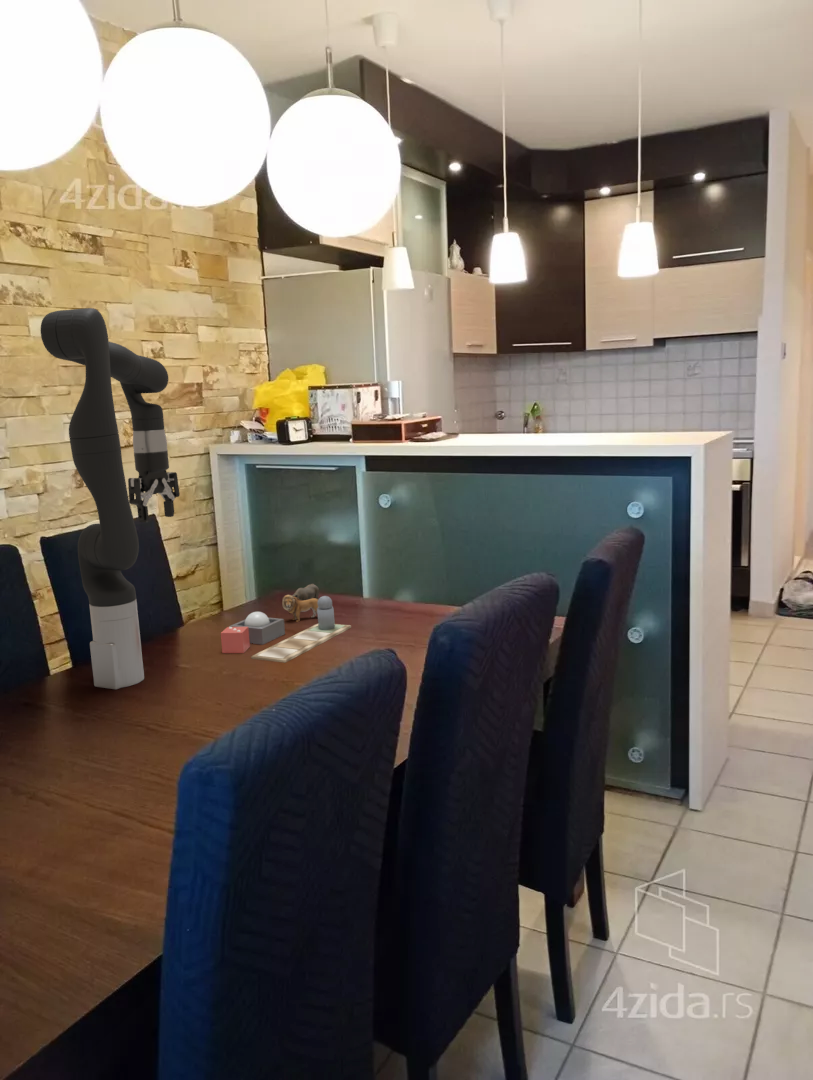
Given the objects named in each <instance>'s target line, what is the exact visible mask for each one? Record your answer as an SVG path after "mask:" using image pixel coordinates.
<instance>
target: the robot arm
mask: <svg viewBox="0 0 813 1080" xmlns="http://www.w3.org/2000/svg"><path fill="white" fill-rule="evenodd" d="M40 338H41V341H42V344H43V346H44V347H45V350H46V351H47V352H48V353H49V354H50V355H51V356H53V357H54V358H56V359H60V360H64V361H68V362H73V363H76V364H80V365H82V366H85V380H84V386H83V390H82V393H81V395H80V398H79V400H78V402H77V404H76V406H75V409H74V411H73V413H72V415H71V418H70V421H69V425H68V437H69V442H70V450H71V455H72V460H73V464H74V466H75V469H76V471H77V473H78V475H79V476H80V477H81V480H82V481H83V483H84V484H85V486H86V488H87V490H88V491H89V492H90V495H91V496H92V498H93V501H94V503H95V506H96V510H97V515H98V520H99V523H93V524H92V523H91V524H89V525H87V526H86V527H85V528H84V529H83V530H82V532H81V533H80V535H79V538H78V542H77V557H78V564H79V571H80V575H81V582H82V587H83V590H84V592H85V594H86V595H87V597H88V605H89V613H90V624H91V631H92V632H91V633H92V641H90V642H89V649H90V656H91V657H90V659H91V668H92V676H93V685H94V687H97V688H103V689H104V688H105V689H112V690H118V689H122V688H126V687H130V686H133V685H137V684H139V683H141V682H142V681H144V680H145V671H144V663H143V654H142V651H143V650H142V641H141V634H140V633H141V631H140V622H139V614H138V613H139V611H138V602H137V594H136V593H137V591H136V587H135V585H134V584H133V583H131V582H130V581H129V580H127V579H126V577H125V576H124V575H123V573H122V571H126V570H128V569H130V568H132V567H133V566H134V565H135V563H136V562H137V559H138V556H139V552H140V551H139V549H140V542H139V536H138V531H137V528H136V524H135V520H134V519H135V518H134V515H133V513H132V508H131V505H134V506H136V507H137V517H138V520H139V522H140V523H148V522H149V520H150V517H149V509H148V503H149V500H150V499H151V498H152V497H153V495H156V494H158V495H160V496H161V498H162V499H163V509H164V511H163V512H164V517H166V518H172V517H174V516H175V504H174V501H175V500H176V498H179V497H180V487H179V479H178V473H177V472H175V471H174V472H173V471H168V472H167V470H169V468H170V462H169V461H170V460H169V453H168V441H167V436H166V432H165V431H166V430H165V421H164V420H165V419H164V412H163V411H164V410H163V408H162V406H161V405H159V404H156V403H153V402H152V403H151V402H147V401H146V400H145V399H144V398H143V396H142V395H143V394H157V393H161V392H163V391H164V390H165V389H166V388H167V386H168V385H169V384H168V383H169V373H168V371H167V368H166V367H165V366H164V364H162V363H161V362H160V361H158V360H156V359H154V358H152V357H151V358H150V357H147V356H142V355H138V354H136V353H135V352H133V351H132V350H130V349H129V348H128V347H126V346H123V345H122V344H119V343H115V342H112V341H109V335H108V328H107V325H106V321H105V318H104V317H103V314H102V313H101V312H100V311H99V310H98V309H96V308H92V307H88V308H87V307H86V308H74V309H72V308H71V309H64V310H62V309H61V310H56V311H51V312H49V313H47V314H45V316H44V317H43V318H42V321H41V323H40ZM112 379H114V380H116V381H118V382H119V383H120V387H121V389H122V392H123V394H124V397H125V399H126V402H127V405H128V408H129V411H130V412H129V413H130V415H131V425H132V447H133V458H134V468H135V471H136V472H137V473H138V477H129V478H128V479H127V481H126V477H125V470H124V464H123V457H122V445H121V440H120V435H119V434H120V433H119V428H118V422H117V417H116V411H115V404H114V397H113V396H114V395H113V389H112ZM126 482H127V483H126ZM127 484H128V488H127Z"/></svg>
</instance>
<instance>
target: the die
mask: <svg viewBox="0 0 813 1080" xmlns="http://www.w3.org/2000/svg"><path fill="white" fill-rule="evenodd" d="M220 638H221V639H220V640H221V652H222V654H244V653H246V651H247V650H248V649H249V648H250V647H251V643H250V641H249V628H248V627H230V626H227V627H226V628H224V629H223V631H221V632H220Z"/></svg>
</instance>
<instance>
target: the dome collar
mask: <svg viewBox="0 0 813 1080" xmlns="http://www.w3.org/2000/svg"><path fill="white" fill-rule="evenodd" d="M268 618H269V621H270V624H268V625H265V626H263V627H261V628H260V627H250V626H245V620H246V618H245V619H243V620H240V621H238V622H236V623H233V624H231V625H229V627H248V628H249V641H250V644H252V643H253V645H265V644H267V643H269V642H271V641H274V640H276V639H278V638H280V637H282V636H284V635H285V634H286V629H285V619H284V618H277V617H276V618H275V617H268Z"/></svg>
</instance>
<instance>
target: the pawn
mask: <svg viewBox="0 0 813 1080" xmlns="http://www.w3.org/2000/svg"><path fill="white" fill-rule="evenodd" d="M317 604H318V608H317V614H316V615H317V622H318V623H317V624H318V627H319V629H320V630H331V629H334V628H335V624H336V622H335V610H334V606H333V599H332V598H331V597H330V596H328V595H323V596H320V597H318V603H317Z"/></svg>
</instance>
